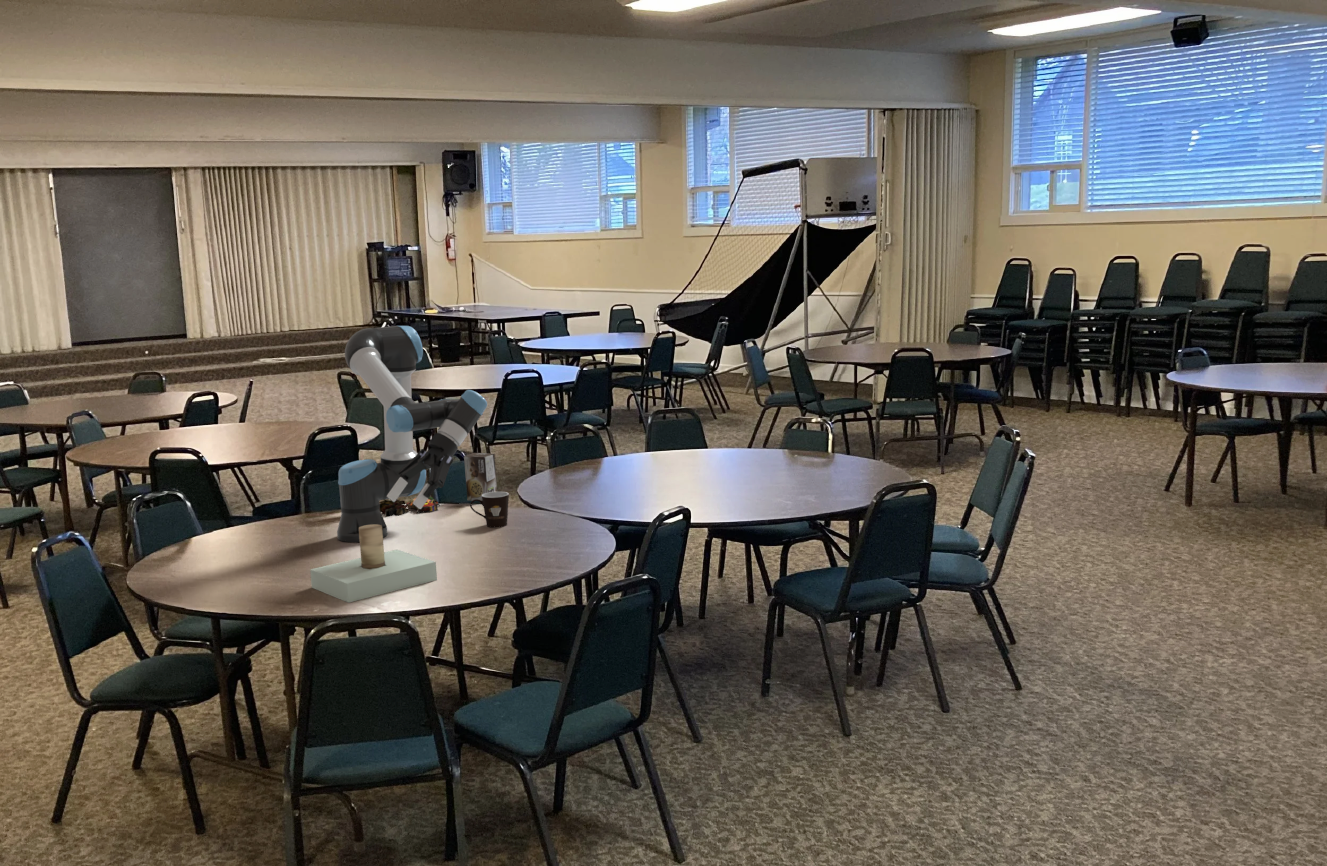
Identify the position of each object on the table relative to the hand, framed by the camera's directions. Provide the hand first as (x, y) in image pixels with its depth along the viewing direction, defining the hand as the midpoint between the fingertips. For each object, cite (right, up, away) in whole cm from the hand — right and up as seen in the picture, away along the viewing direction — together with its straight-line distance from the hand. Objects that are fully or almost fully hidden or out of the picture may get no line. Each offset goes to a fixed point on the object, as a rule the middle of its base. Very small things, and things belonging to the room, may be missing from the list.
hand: (403, 502), depth 312 cm
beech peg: (-7, -21, -4) cm, 22 cm away
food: (-17, -8, +85) cm, 87 cm away
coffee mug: (+16, -11, +58) cm, 61 cm away
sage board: (-7, -21, -4) cm, 23 cm away
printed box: (+6, -5, +96) cm, 97 cm away
